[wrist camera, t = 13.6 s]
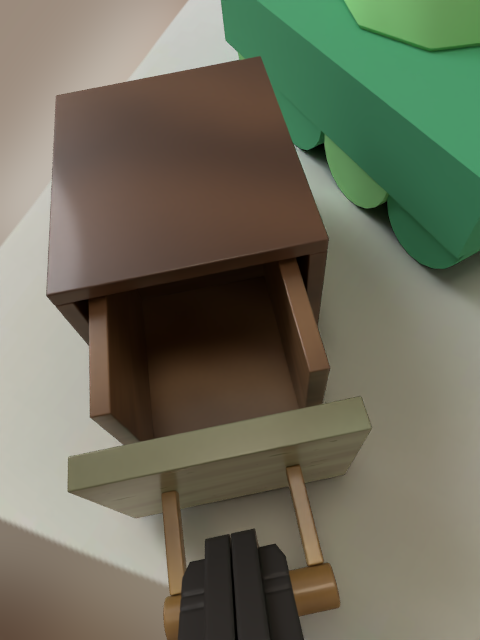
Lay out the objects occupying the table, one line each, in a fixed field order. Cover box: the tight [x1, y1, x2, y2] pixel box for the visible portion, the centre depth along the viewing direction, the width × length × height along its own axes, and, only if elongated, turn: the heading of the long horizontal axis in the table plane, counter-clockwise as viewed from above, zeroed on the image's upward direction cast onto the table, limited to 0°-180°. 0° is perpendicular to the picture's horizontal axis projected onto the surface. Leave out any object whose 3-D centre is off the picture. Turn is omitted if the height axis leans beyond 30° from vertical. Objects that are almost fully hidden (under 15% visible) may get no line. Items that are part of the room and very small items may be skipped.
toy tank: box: [221, 0, 480, 269], centre depth 28 cm, size 18×12×35 cm
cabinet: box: [46, 56, 329, 345], centre depth 25 cm, size 14×12×10 cm
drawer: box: [68, 257, 372, 640], centre depth 20 cm, size 17×10×8 cm, turn 10°
